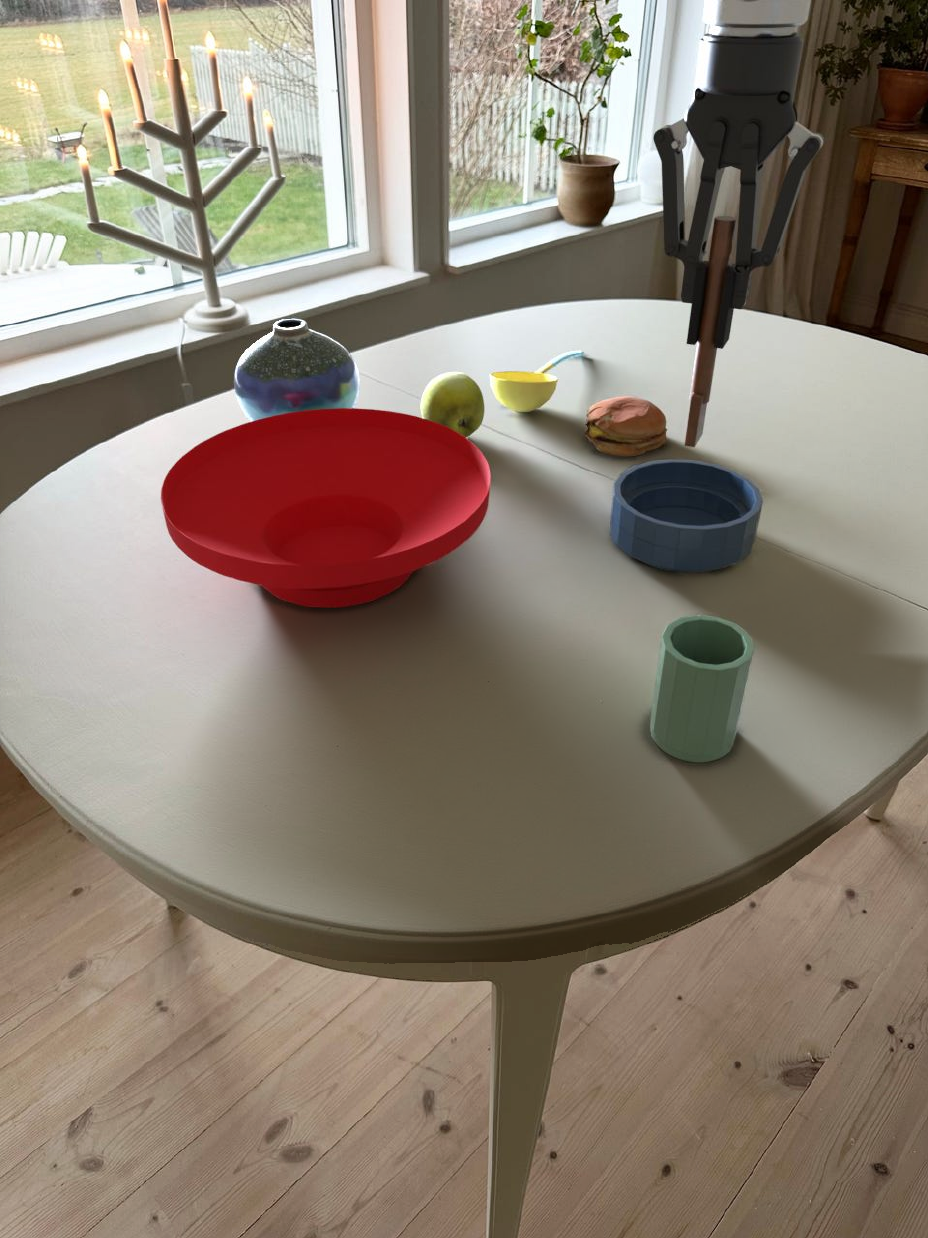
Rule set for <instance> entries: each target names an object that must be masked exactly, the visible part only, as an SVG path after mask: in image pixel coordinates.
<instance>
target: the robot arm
mask: <svg viewBox="0 0 928 1238" xmlns="http://www.w3.org/2000/svg"><path fill="white" fill-rule="evenodd" d="M811 3H812V0H704V5H703V6H704V7H703V14H702V21H703V23H704V24H705V26H709V30H708V33H704V34H703V37H702V38H700V39H699V40H700V41H699V46H698V47H699V49H698V57H697V63H696V64H697V65H696V73H695V82H694V90H693V91H694V92H693V96H692V99H691V101H690V104H689V105H688V107H687V108H686V111H685V113H684V117H683V118H681V119H679V120H678V121H676V122H674V123H672V124H666V125H664V126H662V127H660V128H659V129H657V130H656V131H655V132H654V133H653V137H652V138H653V139H652V140H653V143H654V146H655V148H656V151H657V154H658V156H659V159H660V162H661V185H662V186H661V187H662V188H661V189H662V217H663V221H662V222H663V246H664V249H663V250H664V253H665V254H666V256H668V257H671V258H672V257H674V258H675V259H677V260H679V261H681V263H682V264H683V274H682V275H683V276H682V284H681V292H680V298H681V302H682V303H684V304H691V305H690V306H691V307H690V315H689V320H688V321H689V323H688V328H687V336H686V345H690V346H695V345H697V341H698V335H699V328H700V320H701V313H702V306H703V299H704V292H705V284H706V277H707V270H708V262H709V260H704V257H705V256H706V254H707V251H706V250H707V245H708V241H709V237H710V231H711V228H712V223H713V218H714V214H715V209H716V204H717V200H718V195H719V191H720V187H721V184H722V183H721V182H722V178H723V175H724V173H725V170H726V169H725V168H730V167H732V168H735V169H737V170H740V171H739V172H740V173H739V183H740V192H739V205H738V219H737V234H736V247H735V248H736V249H735V261H734V263H730V267H729V268H728V269H727V270H726V272H725V277H724V284H723V291H722V297H721V304H720V311H719V318H718V324H717V331H716V338H715V344H714V348H717V349H720V350H723V349H724V347H725V346H726V344H727V343H728V341H729V340H730V336H731V329H732V324H733V323H732V322H733V316H734V309H735V310H742V309H743V308H744V306H745V305H746V303H747V301H748V300H749V295H750V288H751V283H752V277H753V272H754V270H755V269H757V268H760V267H769V266H771V265H772V264H773V262H774V261H775V259H776V258H777V257H778V255H779V252H780V250H781V246H782V244H783V240H784V239H785V235H786V232H787V229H788V226H789V223H790V220H791V217H792V214H793V211H794V207H795V205H796V203H797V199H798V196H799V194H800V190H801V187H802V184H803V181H804V179H805V175H806V173H807V170H808V166H809V165H810V164H811V162H812V161H813V160H814V159H815V157H816V155H817V154H818V152H819V151H820V149H822V147H823V145H824V144H825V137H824V135H823V134H822V133H821V132H812V131H811V130H810V129H808V128H807V127H805V126H804V125H802V124H801V122H798V118H799V117H798V111H797V108H796V104H795V94H796V88H797V83H798V82H797V81H798V77H799V71H800V66H801V60H802V54H803V47H804V44H805V43H804V42H805V39H803V35H802V34H800V33H798V27H801V26H803V25H805V24H806V23H807V22H808V19H809V13H810V9H811ZM688 133H689V134H690V136H691V138H692V140H693V142H694V144H695V146H696V148H697V150H698V152H699V154H700V156H701V158H702V159H703V161H702V167H701V172H700V178H699V179H700V180H699V181H700V182H699V187H698V191H697V195H696V200H695V206H694V210H693V214H692V220H691V225H690V229H689V235H688V239H687V240H686V213H685V212H686V211H685V210H686V209H685V203H686V202H685V200H686V199H685V161H684V153H683V149H685V148H686V146H687V143H688V138H687V137H688ZM787 138H788V139H789V146H788V149H787V155H788V157H789V158H790V159H791V161H790V163H789V165H788V167H787V170H786V173H785V175H784V178H783V181H782V184H781V188H780V191H779V194H778V197H777V199H776V202H775V205H774V209H773V213H772V215H771V219H770V221H769V225H768V228H767V231H766V234H765V237H764V240H763V243H762V246H761V247H759V248H757V243H758V234H759V233H758V232H759V221H760V220H759V219H760V209H761V194H762V181H763V176H764V170H765V162H766V161H767V160H768V159H769V158H770V156H771V155H772V154H773V153H774V152H775V151H776V149H777V148H778V147H779V146H780V145H781V144H782V142H784V140H786V139H787Z"/></svg>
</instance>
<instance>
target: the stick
mask: <svg viewBox="0 0 928 1238" xmlns="http://www.w3.org/2000/svg"><path fill="white" fill-rule="evenodd" d="M737 222H738V219H737V217H735V216H732V215H731V216H730V215H718V216H715V217H714V220H713V226H712V235H711V242H710V248H709V256H708V261H709V262H708V270H707V277H706V284H705V292H704V299H703V306H702V313H701V320H700V328H699V335H698V341H697V343H696V350H695V355H694V356H695V357H694V363H693V371H692V378H691V385H690V393H689V399H688V400H689V402H690V403H689V411H688V416H687V417H688V418H687V422H686V423H687V424H686V432H685V438H684V446H685V447H689V448H695V447H696V446H697V444H698V443H699V441H700V439H701V438H702V435H703V432H704V427H705V419H706V413H707V407H708V403H709V402H710V400H711V399H710V398H711V391H712V385H713V378H714V371H715V364H716V359H717V358H716V357H717V351H718V348H714V344H715V338H716V331H717V324H718V318H719V311H720V304H721V297H722V291H723V284H724V277H725V272H726V270H727V269H728V268H729V267H730V265H731V260H732V254H733V247H734V241H735V234H736V229H737V228H736V227H737Z"/></svg>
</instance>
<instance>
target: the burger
mask: <svg viewBox="0 0 928 1238" xmlns="http://www.w3.org/2000/svg"><path fill="white" fill-rule="evenodd" d="M584 425H585V426H586V428H587V429H586V430H585V431H583V435H585V436H586V437H587V438H588V441H589V442H590V444H591V443H592V444H594V446H595V449H596V450H597V451H599V452H600V453H602V454H606V455H609V456H610V455H611V456H613V457H614V456H615V457H623V458H626V457H628V458H629V457H637V456H640V455H643V454H645V453H646V452H649V451H654V450H656V449H658V448H660V447H662V446H663V445H665V444H666V442H667V431H668V428H667V417H666V415H665V413H664V412H663V411H662V410H661V408H659V407H658V406H657V405H656V404H654V403H652V402H651V401H649V400H647V399H643V398H639V397H636V396H629V395H628V396H617V397H612V398H607V399H603V400H600V401H598V402H596V403H594V404H593V405H591V406H590V407H589V408H588V409H587V410H586V421H585V424H584Z"/></svg>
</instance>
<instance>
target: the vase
mask: <svg viewBox="0 0 928 1238" xmlns="http://www.w3.org/2000/svg"><path fill="white" fill-rule="evenodd" d="M272 326H273V327H272V332H270V333H268V334H267V335H264V336H263V337H261V338H260V339H259V340H257V341H256V342H255V343H253V344H252V345H251V346H250V347H249V348H247V349H246V350H245V351H244V353H243V354H242V355H241V356H240V358H239V359H238V362H237V364H236V366H235V370H234V375H233V386H234V392H235V396H236V399H237V403H238V404H239V407H240V408H241V410H242V412H243V414H244V415H245V416H246V417H247V419H249V420H250V422H252V421H255V420H259V419H262V418H267V417H271V416H275V415H280V414H286V413H292V412H299V411H307V410H317V409H336V408H355V406H356V403H357V401H358V398H359V393H360V374H359V369H358V367H357V363H356V361H355V360H354V358H353V356H352V355H351V353H350V352H349V351H348V350H347V349H346V347H345V346H343V344H341V343H340V342H339V341H337V340H335V339H333V338H331V337H329V336H328V335H325V334H324V333H320V332H318V331H315V330H312V329H310V328H309V326H308V323H307V321H306V320H303V319H300V318H291V319H290V318H289V319H281V320H279V321H276V322H275V323H274V324H273V325H272Z"/></svg>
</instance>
